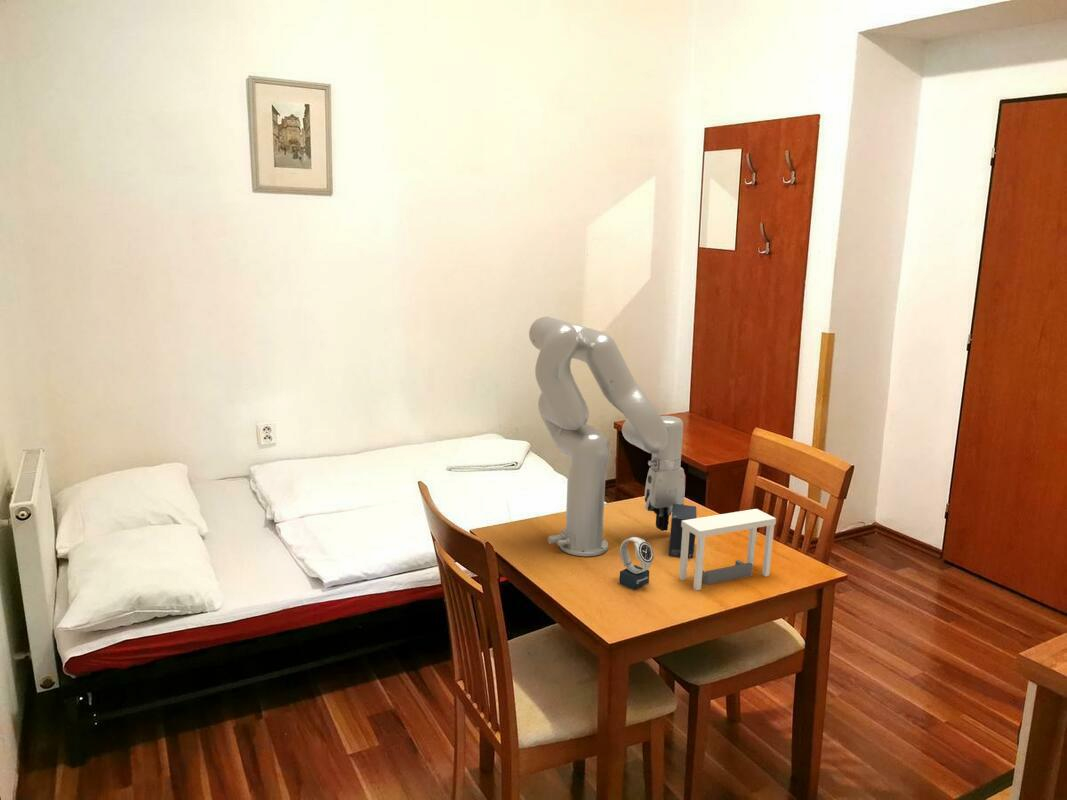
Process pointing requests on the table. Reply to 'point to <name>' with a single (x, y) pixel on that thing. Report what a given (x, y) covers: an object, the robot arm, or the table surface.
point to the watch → (635, 574)
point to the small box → (676, 530)
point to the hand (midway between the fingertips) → (661, 528)
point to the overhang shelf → (720, 526)
